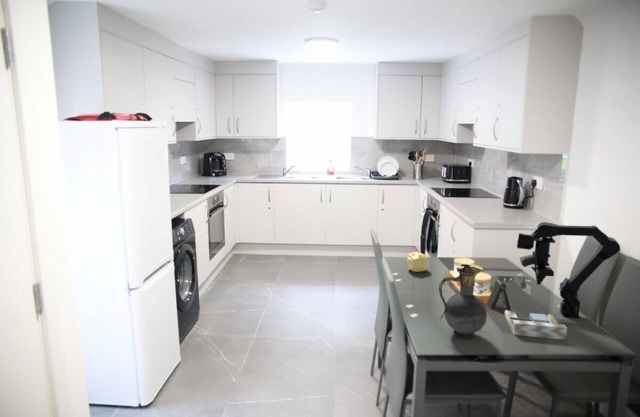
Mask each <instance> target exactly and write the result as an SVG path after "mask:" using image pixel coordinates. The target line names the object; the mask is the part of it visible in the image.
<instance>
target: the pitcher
mask: <svg viewBox="0 0 640 417" xmlns="http://www.w3.org/2000/svg"><path fill="white" fill-rule="evenodd" d="M460 266H461V267H462V268H460V267H457V268H456V267H455V269H456V271H457V273H458V275H457V276H456V277H455V276H450V275H449V276H446V277H443V278H442V279H441V280H440V282H439V285H438V293H439V296H440V298H441V301H442V303H443V306H444V311H443V313H442V314H441V315H440V318H439V321H441V319H443V317H444V318H445V320H446V323H447V325H448V326H449V327H450V328H451V329H452V330H453V331H452V332H453V335H454V336H456V338H457V337H458V338H460V339H472V338H473V337H474V336H475V333H477V332H479V331H480V330H482V328H483V327H484V326H485V325H486V321H487V309H486V306H485V303H484V302H483V301H482V300H481V298H479V297H478V296H477V295H475V294H474V288H475V286H476V285H475V284H476V283H475V281H476V280H475V278H476V276H477V275H478V274H480V272H483V273H484V270H482V269H481V268H478V267H475V266H473V265H471V264H467V263H463V264H461V265H460ZM449 281H451V282H456V283H459V286H460V287H459V288H460V290H459V292H458V293H455V294H452V295H451V296H450V297H449V298H448V299H447V301H445V298H444V296H443V290H442V288H443V285H444V284H445V283H446V282H449Z"/></svg>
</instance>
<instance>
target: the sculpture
mask: <svg viewBox="0 0 640 417" xmlns="http://www.w3.org/2000/svg"><path fill="white" fill-rule="evenodd" d="M428 259H429V258H428V257H427V256H426V255H425V253H421V252H418V251H414V252H413V251H412V252H410V253H408V254H407V255H406V264H407V268H408V269H409V270H410V271H411V272H414V273H421V272H425V271H426V270H427V269H428V266H429V260H428Z"/></svg>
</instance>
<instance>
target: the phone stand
mask: <svg viewBox="0 0 640 417" xmlns="http://www.w3.org/2000/svg"><path fill="white" fill-rule="evenodd" d="M506 288H507V285H506V284H505V283H504V282H503V281H502V280H501V279H500V278H499V279H496V280H494V286H493V289H492V290H491V293H490V295H489V297H490V298H489V297H488V299H489V300H488V299H487V301H488V302H487V301H486V304H487V305H488V306H489V308H490V309H494V310H495V309H496V310H498V309H499V310H500V309H501V310H511V309H512V307H511V304H510V301H509V297H508V295H507V291H506ZM499 297H500V298H501V302H498V300H499Z"/></svg>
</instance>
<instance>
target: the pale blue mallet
mask: <svg viewBox="0 0 640 417" xmlns="http://www.w3.org/2000/svg"><path fill="white" fill-rule="evenodd" d="M528 317H529V318H527V317H526V318H523V317H518V318H516V317H510V319H513V320H520V321H531V322H542V323H550V321H549V319H548V318H547V317H548V315H546V314H544V313H534V312H533V313H532V312H530V313H529V316H528Z"/></svg>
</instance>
